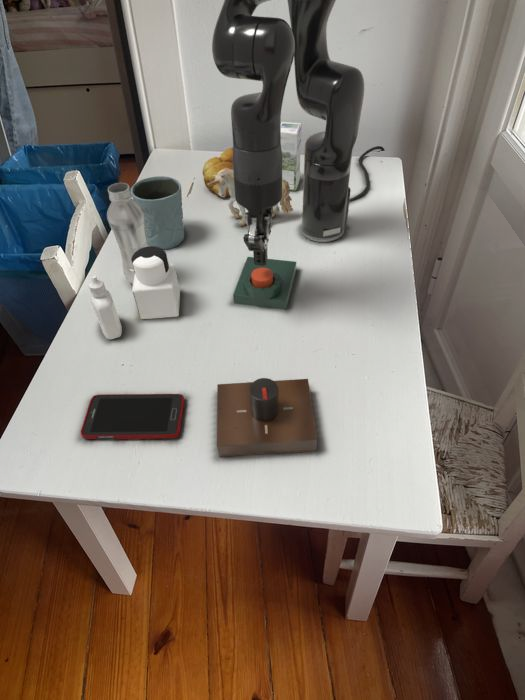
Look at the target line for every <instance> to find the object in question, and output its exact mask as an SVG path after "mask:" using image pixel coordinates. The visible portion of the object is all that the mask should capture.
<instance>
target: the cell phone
mask: <svg viewBox="0 0 525 700" xmlns="http://www.w3.org/2000/svg"><path fill="white" fill-rule="evenodd" d="M184 407H185V397H184V395H183V394H181V393H125V394H123V393H122V394H120V393H119V394H118V393H117V394H112V393H110V394H107V393H106V394H95V395H93V396H92V397H91V399H90V401H89V404H88V407H87V409H86V413H85V416H84V419H83V423H82V425H81V431H80V435H81V437H82V438H83V439H86V440H87V439H88V440H89V439H90V440H91V439H93V440H96V439H115V440H116V439H117V440H120V439H122V440H123V439H126V440H127V439H131V440H133V439H134V440H135V439H175V438H178V437H179V435H180V432H181V426H182V417H183V414H184Z"/></svg>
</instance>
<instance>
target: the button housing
mask: <svg viewBox="0 0 525 700" xmlns="http://www.w3.org/2000/svg"><path fill="white" fill-rule="evenodd" d="M257 268H268V269H270V270H271V271H272V272H273V284H272V285H271V286H270V287H266V288H257V287H255V286H253V284H252V278H251V274H252V272H253V271H254V270H255V269H257ZM296 273H297V261H293V260H283V259H274V258H268V260H267V263H266V265H265V266H261V265H255V264H254V256H247V257H246V260H245V262H244V265H243V268H242V271H241V273H240V276H239V277H238V278H239V279H238V281H237V283H236V285H235V289H234V292H233V294H232V297H233V304H234V305H242V306H243V305H244V306H250V307H251V306H253V307H259V308H268V309H276V310H287V307H288V303H289V300H290V297H291V296H290V295H291V292H292V288H293V284H294V280H295V277H296Z"/></svg>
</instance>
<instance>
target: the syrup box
mask: <svg viewBox="0 0 525 700" xmlns="http://www.w3.org/2000/svg"><path fill="white" fill-rule="evenodd" d="M301 146H302V123H301V122H291V121H290V122H289V121H281V150H282V178H283V179H285V180H286V181H287V182H288V183H289V187H290V190H289V191H293V192H295V191H297V189H298V187H299V184H300V181H301V150H302V149H301Z"/></svg>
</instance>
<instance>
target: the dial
mask: <svg viewBox="0 0 525 700" xmlns="http://www.w3.org/2000/svg"><path fill="white" fill-rule="evenodd" d="M274 381H275V380H273V379H271V378H267V377H260V378H257V379H256V380H254V381H252V382H253V383H252V384H251V386H250V402H251V413H252V415H253V416H254V417H255V418H256V419H257V420H260V421H270V420H272V419H274V418H275V417H276V416H277V414H278V386H277V384H276V383H275V382H274Z"/></svg>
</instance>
